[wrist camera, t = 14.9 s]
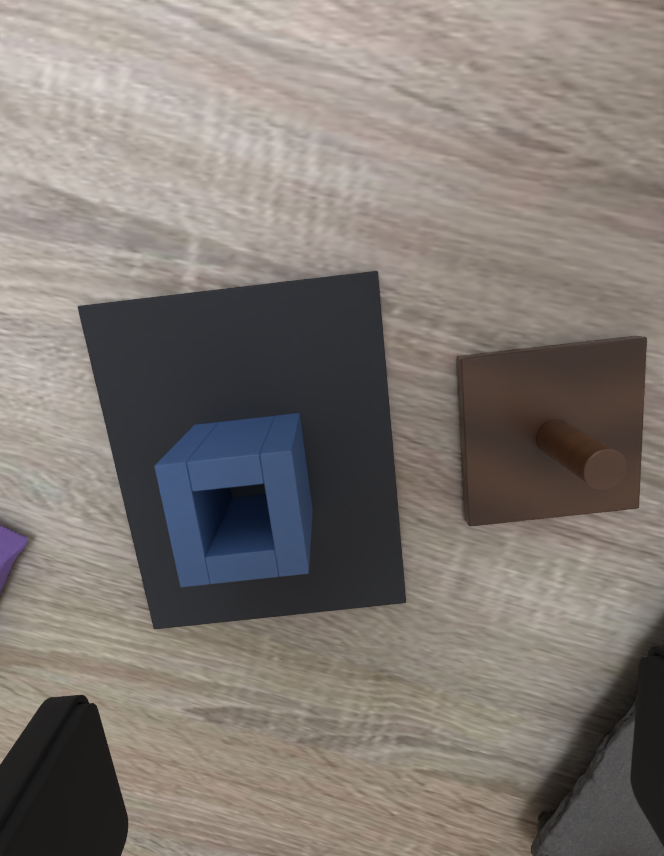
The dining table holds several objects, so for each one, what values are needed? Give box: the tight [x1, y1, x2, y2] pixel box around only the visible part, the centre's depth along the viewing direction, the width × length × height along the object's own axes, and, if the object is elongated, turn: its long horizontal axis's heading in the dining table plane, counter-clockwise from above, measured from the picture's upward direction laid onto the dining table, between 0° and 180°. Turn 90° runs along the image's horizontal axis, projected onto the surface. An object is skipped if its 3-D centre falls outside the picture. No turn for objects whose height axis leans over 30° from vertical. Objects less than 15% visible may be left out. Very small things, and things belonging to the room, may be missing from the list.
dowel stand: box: [457, 336, 647, 526], centre depth 27 cm, size 10×10×6 cm
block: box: [154, 413, 313, 587], centre depth 26 cm, size 6×6×7 cm
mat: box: [78, 271, 406, 629], centre depth 30 cm, size 20×16×1 cm
